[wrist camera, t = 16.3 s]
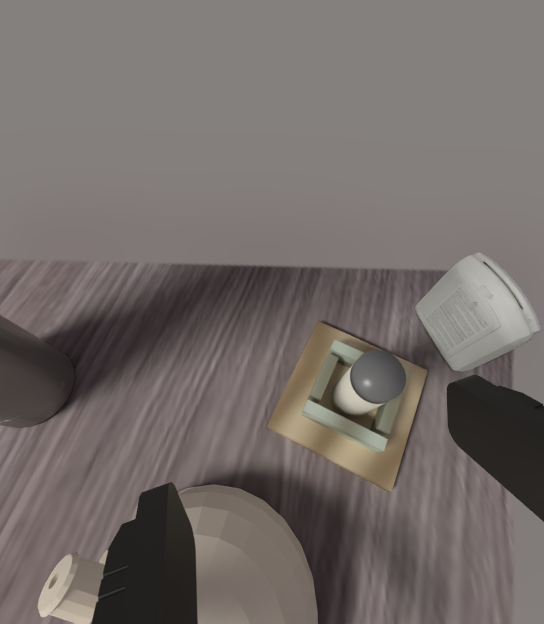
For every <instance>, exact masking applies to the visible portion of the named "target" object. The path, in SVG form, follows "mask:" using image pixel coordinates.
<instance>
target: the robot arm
mask: <svg viewBox="0 0 544 624" xmlns="http://www.w3.org/2000/svg"><path fill="white" fill-rule="evenodd" d="M73 384H74V368H73V365H72V363H71V361H70V359H69V358H68V357H67V356H66V355H65V354H64V353H62V352H61V351H59V350H57V349H56V348H54V347H52V346H51V345H49V344H47V343H46V342H44V341H43V340H41V339H39V338H38V337H36V336H34V335H33V334H31V333H29V332H28V331H26V330H24V329H23V328H21V327H19V326H18V325H16V324H14V323H13V322H11V321H9V320H8V319H6V318H4V317H3V316H1V315H0V425H2V426H8V427H15V428H24V427H30V426H34V425H36V424H39V423H41V422H43V421H45V420H47V419H48V418H50V417H51V416H52V415H54V414H55V413H56V412H57V411H58V410H59V409H60V408H61V407H62V406H63V405H64V404H65V402H66V400H67V399H68V397H69V396H70V393H71V391H72V388H73ZM447 412H448V428H449V432H450V434H451V436H452V438H453V440H454V441H455V443H456V444H457V445H458V446H459V447H460V448H461V449H462V450H463V451H464V452H465V453H467V454H468V455H469V456H470V457H471V458H472V459H473V460H474V461H476V462H477V463H478V464H479V465H480V466H481V467H482V468H484V469H485V470H486V471H487V472H488V473H489V474H490V475H491V476H493V477H494V478H495V479H496V480H497V481H498V482H499V483H501V484H502V485H503V486H504V487H505V488H506V489H507V490H508V491H510V492H511V493H512V494H513V495H514V496H515V497H516V498H517V499H519V500H520V501H521V502H522V503H523V504H524V505H525V506H527V507H528V508H529V509H530V510H531V511H532V512H533V513H534V514H536V515H537V516H538V517H539V518H540V519H541V520H543V521H544V406H543V404H541V403H540V402H538V401H536V400H534V399H532V398H531V397H529V396H527V395H525V394H524V393H521V392H517V391H515V390H511V389H508V388H505V387H502V386H498V387H497V386H495V385H494V384H492V383H490V382H488V381H487V380H485V379H483V378H482V377H480V376H477V375H472V376H469V377H466V378H463V379H461V380H458V381H455V382H452V383H450V384H449V385H448V386H447ZM91 624H198V617H197V580H196V548H195V539H194V534H193V530H192V526H191V523H190V521H189V518H188V516H187V514H186V511H185V509H184V506H183V504H182V502H181V499H180V497H179V495H178V492H177V490H176V488H175V486H174V484H173V483H172V482H170V483H167V484H165V485H162V486H159V487H156V488H153V489H151V490H148V491H145V492H142V493H141V495H140V497H139V502H138V508H137V515H136V519H135V520H132V521H129V522H127V523H124V524H122V525H121V527H120V529H119V531H118V533H117V534H116V536H115V538H114V540H113V541H112V543H111V545H110V547H109V548H108V553H107V557H106V562H105V566H104V570H103V579H101V584H100V588H99V592H98V602H96V606H95V610H94V614H93V619H92V623H91Z"/></svg>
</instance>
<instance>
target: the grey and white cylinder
mask: <svg viewBox="0 0 544 624" xmlns="http://www.w3.org/2000/svg"><path fill="white" fill-rule="evenodd" d="M405 384H406V373H405V370H404V367H403V366H402V364H401V362H400V361H399V360H398V359H397V358H396V357H395V356H393V355H392V354H390V353H388V352H386V351H383V350H370V351H367V352H365V353H364V354H362V355H361V356H360V357H359V358H358V359H357V361H356V362H355V363H354V364H353V365H352V366H351V367H350V369H349V370H348V371H347V372H346V373H345V374H344V375H343V376H342V378H341V379H340V380H339V381H338V382H337V383H336V384H335V386H334V387H333V389H332V393H331V400H332V404H333V406H334V408H335V409H336V410H337V411H338V413H340V414H341V415H343V416H345V417H347V418H358V417H361V416H363V415H365V414H366V413H368V412H370V411H372V410H374V409H376V408H377V407H379V406H381V405H383V404H385V403H387V402H389V401H390V400H392V399H394V398H396V397H397V396H399V395H400V394H401V393H402V391H403V390H404V388H405Z"/></svg>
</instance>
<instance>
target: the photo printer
mask: <svg viewBox="0 0 544 624" xmlns="http://www.w3.org/2000/svg"><path fill="white" fill-rule="evenodd" d="M415 309H416V312H417V314H418V316H419V318H420V320H421V321H422V323H423V325H424V327H425V328H426V330H427V331H428V333H429V335H430V336H431V338H432V340H433V341H434V343H435V344H436V346H437V348H438V349H439V351H440V353H441V354H442V356H443V357H444V359H445V360H446V362H447V363H448V364H449V366H450V367H451V368H452V369H453V370H454V371H460V372H465V371H469V370H471V369H473V368H476V367H478V366H480V365H482V364H484V363H486V362H488V361H490V360H493V359H495V358H497V357H499V356H501V355H503V354H505V353H507V352H509V351H511V350H513V349H516V348H518V347H519V346H522V345H523V344H525V343H526V342H528V341H529V340H530V339H531V338H532V337H533V335H534V334H536V333H537V332H539V331H541V327H540V323H539V320H538V318H537V315H536V313H535V311H534V309H533V307H532V305H531V304H530V302H529V300H528V299H527V297H526V296H525V294H524V293H523V291H522V290H521V289H520V287H519V286H518V285H517V283H516V282H515V281H514V280H513V279H512V278H511V276H510V275H509V274H508V273H507V272H506V271H505V270H504V269H503V268H502V267H501V266H500V265H498V264H497V263H496V262H495V261H494V260H492V259H491V258H489V257H488V256H486V255H485V254H483V253H481V252H478V253H476V254H473V255H469V256H467V257H465V258H463V259H462V260H460V261H458V262H457V263H456V264H455V265H454V266H453V267H452V268H450V270H449V271H448V272H447V273H446V274H445V275H444V276H443V277H442V278H441V279H440V280H439V281H438V282H437V283H436V284H435V286H434V287H433V288H432V289H431V290H430V291H429V292H428V293H427V294H426V295H425V296H424V297H423V298H422V299H421V300H420V301H419V302H418V304H417V305H416V306H415Z"/></svg>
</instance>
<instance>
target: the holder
mask: <svg viewBox="0 0 544 624" xmlns="http://www.w3.org/2000/svg"><path fill="white" fill-rule="evenodd" d="M370 350H381V349H379V348H377V347H375V346H373V345H370V344H368V343H366V342H364V341H361V340H359V339H357V338H355V337H353V336H350V335H348V334H346V333H344V332H342V331H339V330H337V329H335V328H333V327H330V326H328V325H326V324H324V323H322V322H319V321H318V322H317V324H316V326H315V328H314V330H313V332H312V334H311V336H310V338H309V340H308V343H307V345H306V347H305V349H304V351H303V353H302V355H301V357H300V359H299V361H298V363H297V365H296V367H295V369H294V372H293V374H292V376H291V378H290V380H289V382H288V384H287V386H286V388H285V390H284V392H283V394H282V396H281V399H280V401H279V403H278V405H277V407H276V409H275V411H274V413H273V415H272V417H271V419H270V421H269V423H268V425H267V428H269V429H271V430H273V431H275V432H277V433H279V434H281V435H282V436H284V437H286V438H288V439H290V440H292V441H294V442H296V443H298V444H299V445H301V446H303V447H305V448H307V449H309V450H311V451H313V452H315V453H316V454H318V455H320V456H322V457H324V458H326V459H328V460H330V461H332V462H333V463H335V464H337V465H339V466H341V467H343V468H345V469H347V470H349V471H350V472H352V473H354V474H356V475H358V476H360V477H362V478H364V479H366V480H367V481H369V482H371V483H373V484H375V485H377V486H379V487H381V488H383V489H384V490H386V491H388V492H392V489H393V486H394V483H395V479H396V476H397V472H398V469H399V466H400V462H401V459H402V456H403V452H404V449H405V446H406V442H407V439H408V436H409V432H410V429H411V425H412V422H413V419H414V415H415V412H416V409H417V405H418V402H419V399H420V395H421V392H422V388H423V385H424V382H425V378H426V375H427V372H428V370H426V369H424V368H421V367H419V366H417V365H415V364H412V363H410V362H408V361H406V360H404V359H401V358H399V357H397V356H395V355H393V354H392V355H393V356H395V357H396V358H397V359H398V360H399V361H400V362H401V364H402V366H403V367H404V370H405V373H406V384H405V388H404V390H403V391H402V393H401V394H400V395H399V396H397V397H396V398H394V399H392V400H390V401H389V402H387V403H385V404H383V405H381V406H379V407H377V408H376V409H374V410H372V411H370V412H368V413H366V414H365V415H363V416H361V417H358V418H347V417H345V416H343V415H341V414H340V413H338V411H337V410H336V409H335V408H334V406H333V404H332V400H331V393H332V389H333V387H334V386H335V384H336V383H337V382H338V381H339V380H340V379H341V378H342V376H343V375H344V374H345V373H346V372H347V371H348V370H349V369H350V367H351V366H352V365H353V364H354V363H355V362H356V361H357V359H358V358H359V357H360V356H361V355H362V354H364V353H365V352H367V351H370ZM383 351H384V350H383Z"/></svg>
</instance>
